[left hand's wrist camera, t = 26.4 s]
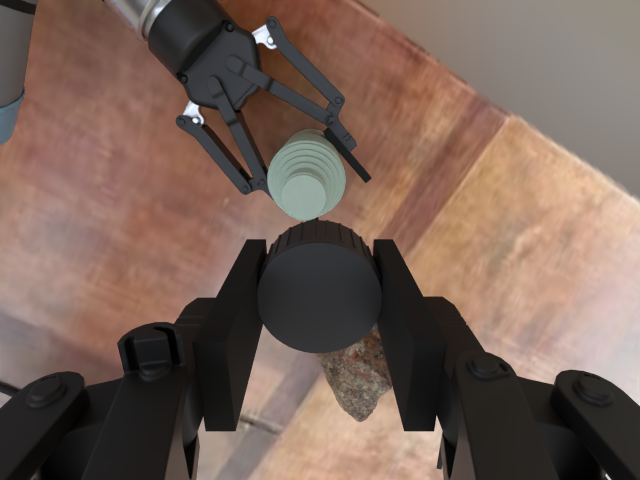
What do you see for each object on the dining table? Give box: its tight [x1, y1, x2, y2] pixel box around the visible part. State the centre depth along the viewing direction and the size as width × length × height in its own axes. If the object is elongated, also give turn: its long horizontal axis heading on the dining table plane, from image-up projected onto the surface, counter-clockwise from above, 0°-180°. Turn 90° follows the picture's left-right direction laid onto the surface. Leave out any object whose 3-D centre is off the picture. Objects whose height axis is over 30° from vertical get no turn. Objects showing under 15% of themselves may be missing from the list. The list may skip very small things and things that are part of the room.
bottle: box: [267, 129, 346, 221], centre depth 34 cm, size 7×7×20 cm
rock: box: [317, 323, 392, 422], centre depth 49 cm, size 14×9×10 cm
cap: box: [257, 220, 382, 353], centre depth 13 cm, size 4×4×2 cm
